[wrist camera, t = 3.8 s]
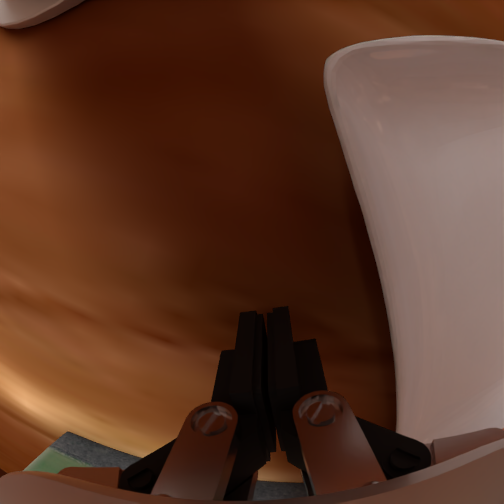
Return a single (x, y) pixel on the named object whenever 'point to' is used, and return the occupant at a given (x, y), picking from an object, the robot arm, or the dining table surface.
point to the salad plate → (432, 216)
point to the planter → (96, 455)
